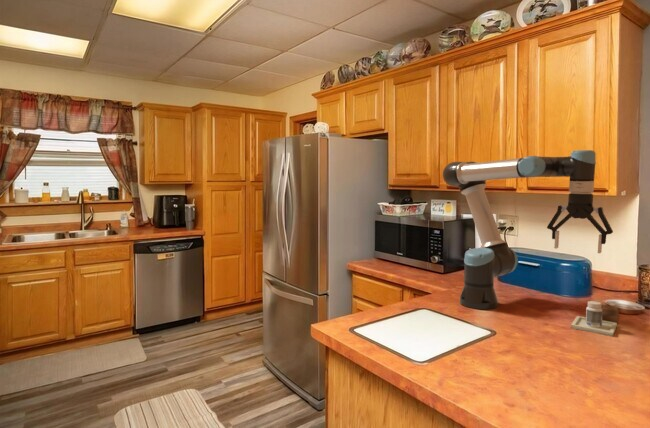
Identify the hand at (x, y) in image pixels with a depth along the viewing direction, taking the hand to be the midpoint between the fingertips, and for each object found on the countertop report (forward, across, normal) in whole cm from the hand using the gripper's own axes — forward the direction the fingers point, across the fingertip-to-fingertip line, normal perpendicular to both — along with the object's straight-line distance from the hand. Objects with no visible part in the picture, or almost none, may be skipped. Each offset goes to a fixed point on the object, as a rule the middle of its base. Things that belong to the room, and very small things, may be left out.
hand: (577, 250), depth 143 cm
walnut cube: (+26, +10, +6) cm, 28 cm away
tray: (+26, +7, -5) cm, 27 cm away
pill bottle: (+26, +7, -5) cm, 27 cm away
